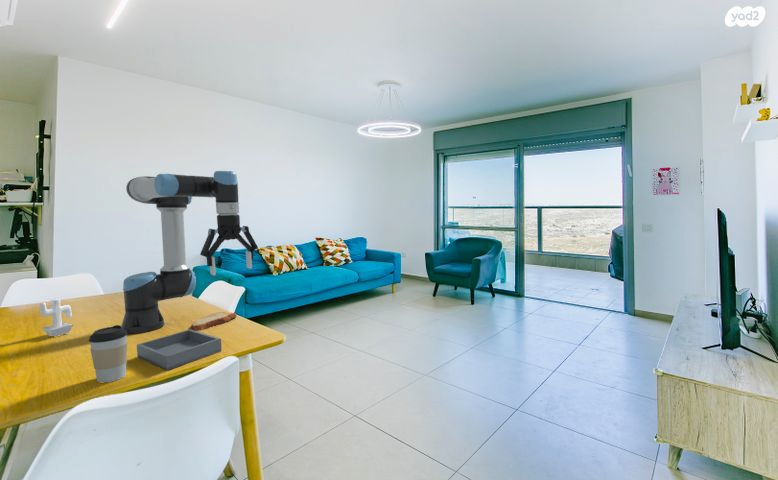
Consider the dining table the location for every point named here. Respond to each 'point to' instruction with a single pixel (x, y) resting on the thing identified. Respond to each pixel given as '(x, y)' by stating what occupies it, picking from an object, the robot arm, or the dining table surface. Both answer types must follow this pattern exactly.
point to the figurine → (56, 317)
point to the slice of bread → (212, 320)
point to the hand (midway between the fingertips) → (232, 271)
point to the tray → (178, 349)
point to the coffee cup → (109, 353)
